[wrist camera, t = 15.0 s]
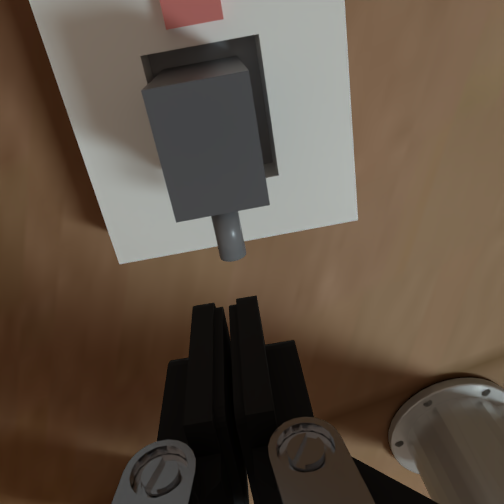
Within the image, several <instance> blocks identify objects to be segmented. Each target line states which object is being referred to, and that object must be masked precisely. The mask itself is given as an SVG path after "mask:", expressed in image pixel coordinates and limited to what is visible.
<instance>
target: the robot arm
mask: <svg viewBox="0 0 504 504" xmlns="http://www.w3.org/2000/svg"><path fill="white" fill-rule="evenodd" d="M229 317H230V336H229V332H228V327H227V322H226V318H225V313H224V309H223V307H219V308H216V307H215V304H214V303H209V304H203V305H197V306H193V311H192V323H191V335H190V347H189V358H183V359H177V360H171V361H170V362H169V364H168V369H167V375H166V382H165V389H164V396H163V403H162V410H161V417H160V424H159V431H158V438H157V442H154V443H152V444H150V445H147V446H146V447H144V448H143V449H141V450H140V451H139V452H137V453H136V454H135V455H134V456H133V457H132V459H131V460H130V461H129V462H128V464H127V466H126V468H125V470H124V471H123V474H122V477H121V479H120V482H119V485H118V488H117V490H116V493H115V496H114V498H113V501H112V504H249V495H248V480H247V475H248V479H249V483H250V488H251V492H252V496H253V501H254V504H504V389H503V388H502V387H500V386H499V385H497V384H495V383H494V382H491V381H488V380H485V379H479V378H456V379H451V380H446V381H443V382H440V383H437V384H434V385H432V386H430V387H428V388H426V389H423V390H422V391H420V392H419V393H417V394H416V395H414V396H413V397H411V398H410V399H409V400H408V401H407V402H406V403H405V404H403V406H402V407H401V408H400V409H399V411H398V412H397V413H396V415H395V416H394V418H393V420H392V422H391V425H390V428H389V433H388V441H389V445H390V448H391V450H392V452H393V455H394V457H395V459H396V460H397V461H398V462H399V464H401V465H402V466H403V467H405V468H406V469H408V470H410V471H412V472H414V473H418V474H420V476H421V478H422V480H423V482H424V484H425V487H426V489H427V491H428V493H429V495H430V497H431V499H432V500H431V499H429V498H427V497H425V496H424V495H422V494H420V493H418V492H416V491H414V490H412V489H411V488H409V487H407V486H405V485H403V484H401V483H400V482H398V481H396V480H394V479H392V478H390V477H388V476H387V475H385V474H383V473H381V472H379V471H377V470H375V469H374V468H372V467H370V466H368V465H366V464H364V463H363V462H361V461H359V460H357V459H355V458H353V457H351V455H350V453H349V451H348V449H347V447H346V445H345V443H344V441H343V439H342V437H341V435H340V434H339V433H338V431H337V430H336V429H335V427H333V426H332V425H331V424H329V423H328V422H326V421H324V420H321V419H318V418H314V416H313V412H312V408H311V404H310V400H309V396H308V392H307V388H306V384H305V380H304V376H303V372H302V368H301V364H300V361H299V357H298V353H297V349H296V345H295V341H294V340H291V341H285V342H279V343H273V344H267V345H265V342H264V336H263V330H262V324H261V318H260V313H259V307H258V301H257V296H251V297H245V298H239V299H236V305H230V306H229ZM230 338H231V341H230Z"/></svg>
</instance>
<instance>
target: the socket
mask: <svg viewBox="0 0 504 504" xmlns="http://www.w3.org/2000/svg"><path fill="white" fill-rule="evenodd" d="M29 3H30V5H31V8H32V11H33V14H34V17H35V20H36V23H37V26H38V29H39V32H40V35H41V37H42V40H43V43H44V46H45V49H46V52H47V55H48V58H49V61H50V64H51V67H52V69H53V72H54V75H55V78H56V81H57V84H58V87H59V90H60V93H61V96H62V99H63V101H64V104H65V107H66V110H67V113H68V116H69V119H70V122H71V125H72V128H73V131H74V133H75V136H76V139H77V142H78V145H79V148H80V151H81V154H82V157H83V160H84V163H85V165H86V168H87V171H88V174H89V177H90V180H91V183H92V186H93V189H94V192H95V195H96V198H97V200H98V203H99V206H100V209H101V212H102V215H103V218H104V221H105V224H106V227H107V230H108V232H109V235H110V238H111V241H112V244H113V247H114V250H115V253H116V256H117V259H118V262H119V264H124V263H129V262H135V261H140V260H145V259H151V258H156V257H162V256H167V255H172V254H178V253H183V252H189V251H194V250H199V249H205V248H210V247H216V246H218V245H217V241H216V236H215V232H214V227H213V223H212V218H211V216H209V217H204V218H198V219H193V220H188V221H182V222H177V223H176V220H175V216H174V213H173V209H172V205H171V201H170V197H169V194H168V190H167V186H166V182H165V179H164V175H163V171H162V167H161V164H160V160H159V156H158V152H157V149H156V145H155V141H154V137H153V134H152V130H151V126H150V122H149V119H148V115H147V111H146V107H145V103H144V100H143V96H142V92H141V90H142V89H143V88H144V87H145V86H146V85H147V84H148V83H149V82H151V81H152V80H153V79H154V78H155V77H156V76H157V75H158V74H159V73H160V72H161V71H162V70H163V69H167V68H172V67H178V66H183V65H188V64H194V63H199V62H204V61H210V60H215V59H220V58H226V57H231V56H237V57H238V58H239V59H240V61H241V62H242V63H243V64H244V65H245V67H246V68H247V69H248V70H249V75H250V82H251V88H252V94H253V101H254V107H255V113H256V120H257V126H258V132H259V139H260V145H261V151H262V158H263V164H264V170H265V177H266V183H267V189H268V196H269V202H270V205H268V206H263V207H257V208H252V209H246V210H241V211H238V213H239V218H240V223H241V228H242V233H243V239H244V241H248V240H253V239H259V238H264V237H269V236H275V235H280V234H286V233H291V232H296V231H302V230H307V229H313V228H318V227H323V226H329V225H334V224H340V223H345V222H350V221H356V220H358V213H357V197H356V181H355V164H354V148H353V131H352V115H351V98H350V82H349V66H348V49H347V33H346V16H345V0H29Z"/></svg>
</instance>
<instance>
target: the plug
mask: <svg viewBox="0 0 504 504" xmlns="http://www.w3.org/2000/svg"><path fill="white" fill-rule="evenodd" d="M141 92H142V96H143V100H144V103H145V107H146V111H147V115H148V119H149V122H150V126H151V130H152V134H153V137H154V141H155V145H156V149H157V152H158V156H159V160H160V164H161V167H162V171H163V175H164V179H165V182H166V186H167V190H168V194H169V197H170V201H171V205H172V209H173V213H174V216H175V220H176V223H177V222H182V221H188V220H193V219H198V218H204V217H209V216H211V218H212V223H213V227H214V232H215V236H216V241H217V245H218V249H219V254H220V258H221V260H223V261H236V260H239V259H241V258H243V257H244V256H245V255H246V249H245V244H244V239H243V233H242V228H241V223H240V218H239V213H238V211H241V210H246V209H252V208H257V207H263V206H268V205H270V202H269V196H268V189H267V183H266V177H265V170H264V164H263V158H262V151H261V145H260V139H259V132H258V126H257V120H256V113H255V107H254V101H253V94H252V88H251V82H250V75H249V70H248V69H247V68H246V67H245V65H244V64H243V63H242V62H241V61H240V59H239V58H238V57H237V56H231V57H226V58H220V59H215V60H210V61H204V62H199V63H194V64H188V65H183V66H178V67H172V68H167V69H163V70H162V71H161V72H160V73H159V74H158V75H157V76H156V77H155V78H154V79H153V80H152V81H151V82H149V83H148V84H147V85H146V86H145V87H144V88H143V89H142V90H141Z"/></svg>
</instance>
